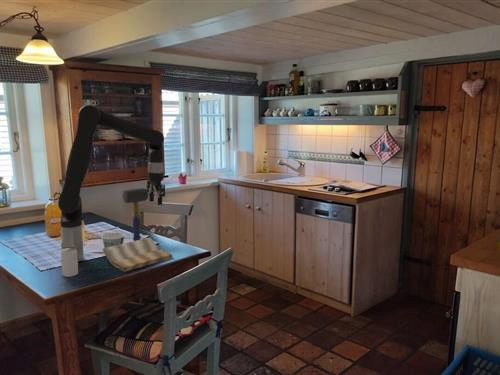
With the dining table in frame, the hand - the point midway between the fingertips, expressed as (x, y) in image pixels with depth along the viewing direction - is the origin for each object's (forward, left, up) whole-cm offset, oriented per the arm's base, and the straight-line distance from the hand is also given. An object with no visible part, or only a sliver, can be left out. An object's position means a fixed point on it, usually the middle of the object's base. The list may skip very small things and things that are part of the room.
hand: (155, 203), depth 205 cm
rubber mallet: (-10, +21, -27) cm, 35 cm away
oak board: (-7, -11, -26) cm, 29 cm away
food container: (-22, +14, -27) cm, 37 cm away
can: (-39, -20, -27) cm, 51 cm away
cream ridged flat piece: (-12, -2, -24) cm, 27 cm away
